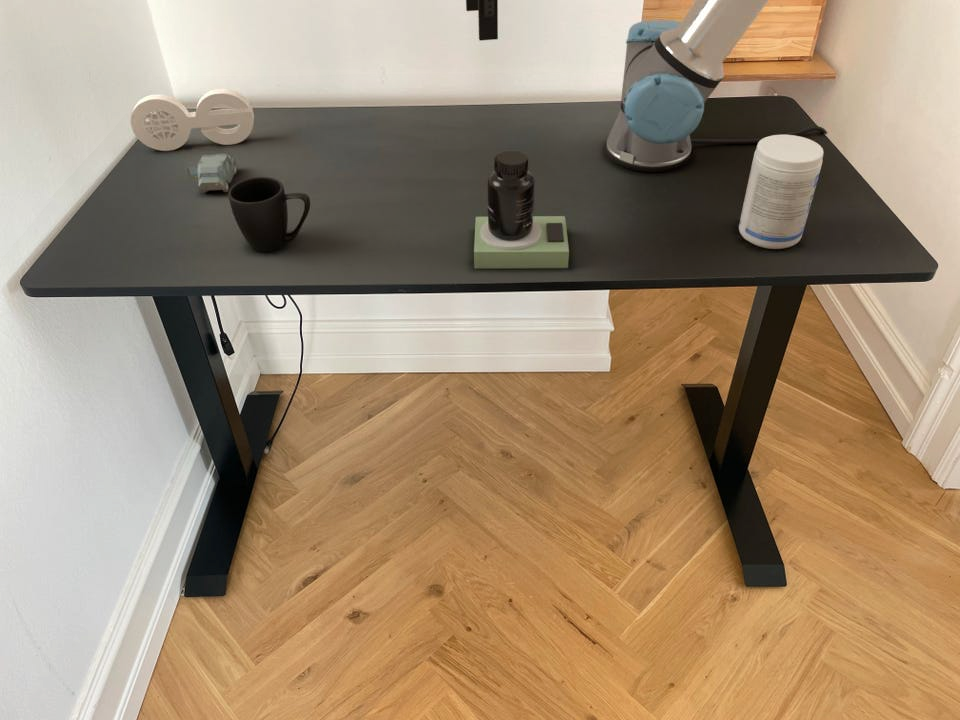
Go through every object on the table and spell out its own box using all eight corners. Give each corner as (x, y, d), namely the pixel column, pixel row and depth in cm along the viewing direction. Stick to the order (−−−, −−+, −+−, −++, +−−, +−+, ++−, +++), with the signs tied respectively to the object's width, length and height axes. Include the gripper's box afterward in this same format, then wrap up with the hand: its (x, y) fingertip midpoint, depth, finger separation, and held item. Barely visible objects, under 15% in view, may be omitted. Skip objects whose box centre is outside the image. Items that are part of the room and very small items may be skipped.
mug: (309, 260, 120) (298, 206, 113) (234, 256, 121) (219, 202, 115) (323, 231, 126) (314, 178, 120) (252, 228, 127) (239, 175, 121)
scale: (564, 232, 124) (565, 212, 122) (567, 268, 117) (569, 248, 114) (476, 232, 125) (475, 213, 122) (474, 268, 117) (473, 248, 115)
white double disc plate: (140, 153, 148) (123, 102, 142) (141, 148, 150) (125, 97, 143) (258, 141, 151) (247, 90, 144) (258, 136, 153) (247, 86, 146)
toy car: (238, 169, 143) (232, 144, 139) (226, 196, 135) (219, 170, 132) (203, 169, 143) (196, 145, 139) (189, 197, 135) (181, 171, 132)
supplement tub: (812, 247, 120) (839, 158, 110) (755, 255, 118) (778, 166, 109) (780, 215, 127) (803, 129, 117) (726, 223, 126) (745, 137, 116)
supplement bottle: (478, 230, 118) (476, 158, 111) (508, 213, 122) (508, 141, 114) (512, 247, 115) (513, 173, 107) (542, 228, 119) (545, 155, 111)
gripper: (440, -152, 115) (447, 0, 129) (463, -119, 96) (468, 54, 110) (490, -154, 116) (492, -3, 130) (523, -123, 97) (520, 50, 111)
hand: (481, 24), depth 120 cm, fingers open, 13 cm apart
